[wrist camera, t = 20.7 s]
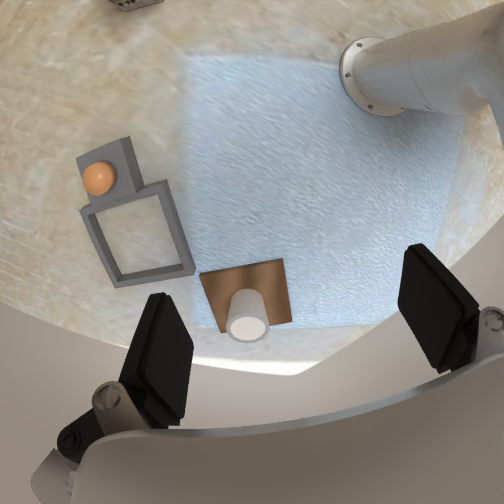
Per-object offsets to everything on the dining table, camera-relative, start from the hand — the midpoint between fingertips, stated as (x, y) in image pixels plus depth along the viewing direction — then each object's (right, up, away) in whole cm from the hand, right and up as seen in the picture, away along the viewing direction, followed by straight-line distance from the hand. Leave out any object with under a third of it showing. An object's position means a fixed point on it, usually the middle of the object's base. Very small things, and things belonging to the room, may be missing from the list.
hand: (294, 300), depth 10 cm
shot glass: (-2, -7, +38) cm, 39 cm away
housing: (-21, +8, +30) cm, 37 cm away
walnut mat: (-2, -6, +39) cm, 39 cm away
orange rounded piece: (-22, +13, +24) cm, 36 cm away
